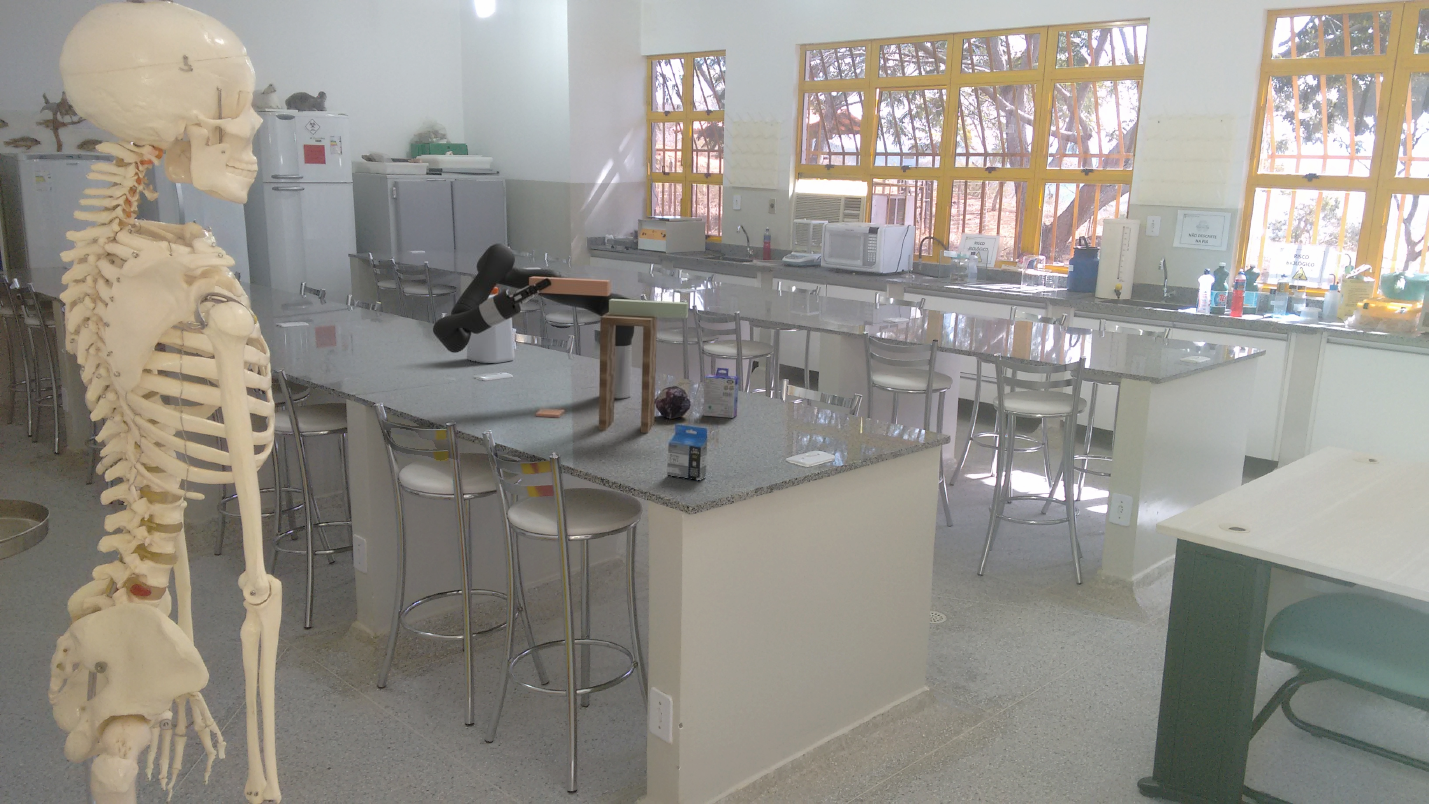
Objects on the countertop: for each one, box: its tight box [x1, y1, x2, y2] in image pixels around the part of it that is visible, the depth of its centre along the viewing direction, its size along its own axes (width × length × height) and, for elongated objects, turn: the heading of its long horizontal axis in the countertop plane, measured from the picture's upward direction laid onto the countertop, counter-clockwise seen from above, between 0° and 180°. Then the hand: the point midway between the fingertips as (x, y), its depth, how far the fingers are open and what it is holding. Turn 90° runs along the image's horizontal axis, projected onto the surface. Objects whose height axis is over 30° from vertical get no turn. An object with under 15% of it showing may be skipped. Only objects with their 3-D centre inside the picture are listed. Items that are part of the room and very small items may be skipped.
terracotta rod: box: [529, 277, 611, 296], centre depth 288 cm, size 4×22×4 cm, turn 85°
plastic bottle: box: [466, 286, 515, 364], centre depth 394 cm, size 15×15×28 cm
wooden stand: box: [598, 312, 658, 434], centre depth 294 cm, size 12×14×32 cm
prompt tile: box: [535, 408, 565, 418], centre depth 309 cm, size 7×7×1 cm
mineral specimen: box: [655, 385, 692, 420], centre depth 311 cm, size 10×10×10 cm
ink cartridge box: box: [702, 367, 739, 419], centre depth 315 cm, size 10×6×14 cm, turn 78°
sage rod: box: [609, 299, 689, 319], centre depth 293 cm, size 4×22×4 cm, turn 85°
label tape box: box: [666, 423, 708, 481], centre depth 248 cm, size 9×4×12 cm, turn 66°
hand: (551, 280), depth 288 cm, fingers closed on terracotta rod, 4 cm apart
